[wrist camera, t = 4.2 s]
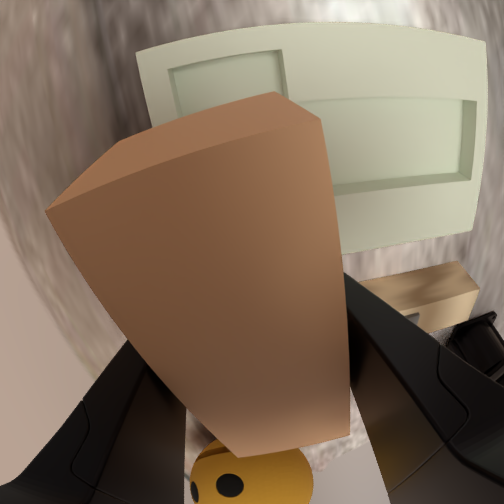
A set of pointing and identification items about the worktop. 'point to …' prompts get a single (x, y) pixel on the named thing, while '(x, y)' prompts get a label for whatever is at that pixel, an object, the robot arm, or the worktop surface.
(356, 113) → the jig
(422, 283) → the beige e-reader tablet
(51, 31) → the worktop surface
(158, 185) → the orange rectangular block
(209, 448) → the toy
